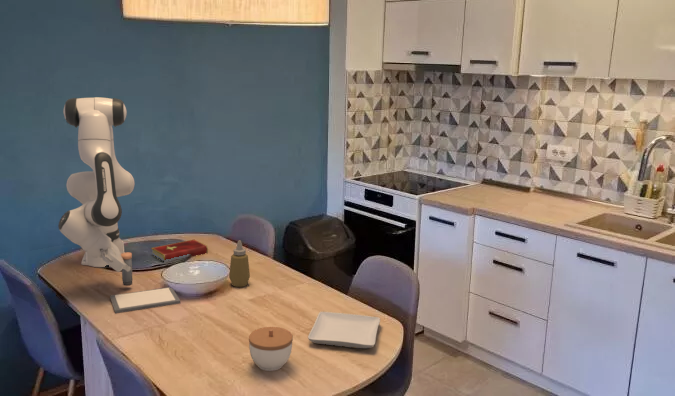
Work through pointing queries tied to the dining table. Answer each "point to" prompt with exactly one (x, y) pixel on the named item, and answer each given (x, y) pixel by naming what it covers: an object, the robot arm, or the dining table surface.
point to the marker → (125, 275)
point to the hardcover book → (180, 249)
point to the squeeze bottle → (239, 267)
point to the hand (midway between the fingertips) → (128, 267)
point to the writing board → (144, 299)
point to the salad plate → (344, 330)
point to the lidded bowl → (270, 347)
